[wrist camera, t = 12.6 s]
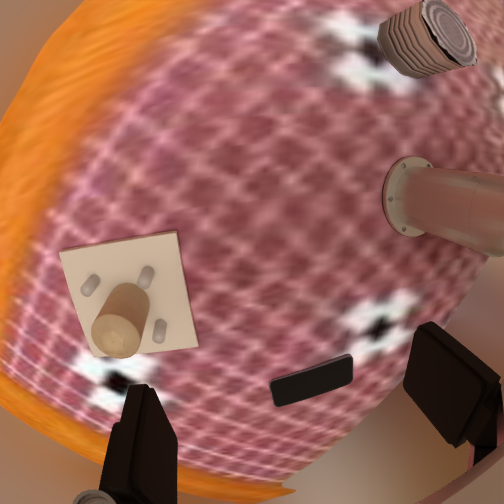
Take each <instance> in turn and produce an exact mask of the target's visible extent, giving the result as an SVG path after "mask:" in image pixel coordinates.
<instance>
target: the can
mask: <svg viewBox="0 0 504 504" xmlns="http://www.w3.org/2000/svg"><path fill="white" fill-rule="evenodd" d="M377 40H378V42H379V44H380V47H381V49H382V52H383V54H384V56H385V59H386V60H387V61H388V62H389V63H390V64H391V65H392V66H393V67H394V68H395V69H396V70H397V71H398V72H399V73H400V74H403V75H406V76H409V77H412V78H415V79H418V78H422V77H425V76H429V75H433V74H437V73H441V72H445V71H450V70H454V69H459V68H463V67H465V66H473V65H477V50H476V44H475V42H474V40H473V38H472V36H471V34H470V32H469V31H468V29H467V27H466V25H465V24H464V22H463V20H462V19H461V18H460V17H459V16H458V15H457V14H456V13H455V12H454V11H453V10H452V9H451V8H450V7H448V6H447V5H446V4H445V3H444V2H443V1H442V0H423V1H421V2H419V3H417V4H415V5H413V6H411V7H409V8H408V9H406V10H404V11H402V12H400V13H399V14H397V15H395V16H393V17H392V18H390V19H388V20H386V21H385V22H383V23H381V24H380V26H379V32H378V37H377Z"/></svg>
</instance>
